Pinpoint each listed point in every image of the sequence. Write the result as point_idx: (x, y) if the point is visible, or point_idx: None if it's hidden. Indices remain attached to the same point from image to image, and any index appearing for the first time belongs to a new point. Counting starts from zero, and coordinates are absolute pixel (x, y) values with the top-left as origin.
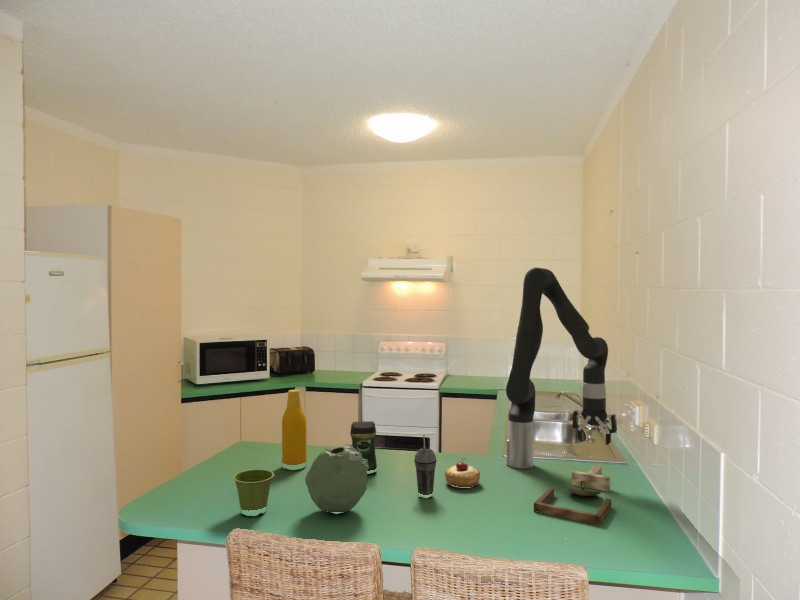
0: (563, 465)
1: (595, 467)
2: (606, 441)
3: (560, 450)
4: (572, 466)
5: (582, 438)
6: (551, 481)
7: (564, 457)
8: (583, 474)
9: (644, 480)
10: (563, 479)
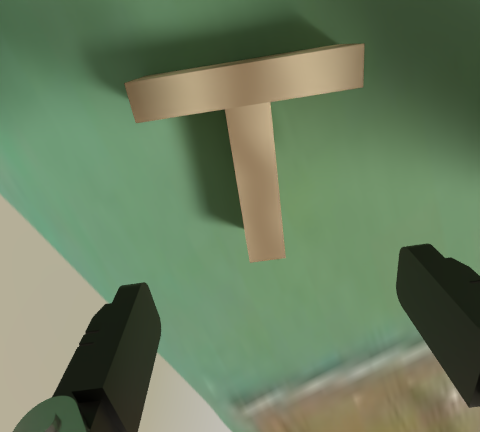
0: None
1: (267, 225)
2: (125, 306)
3: None
4: None
5: (415, 280)
6: (455, 18)
7: None
8: (283, 57)
9: None
10: (398, 101)
